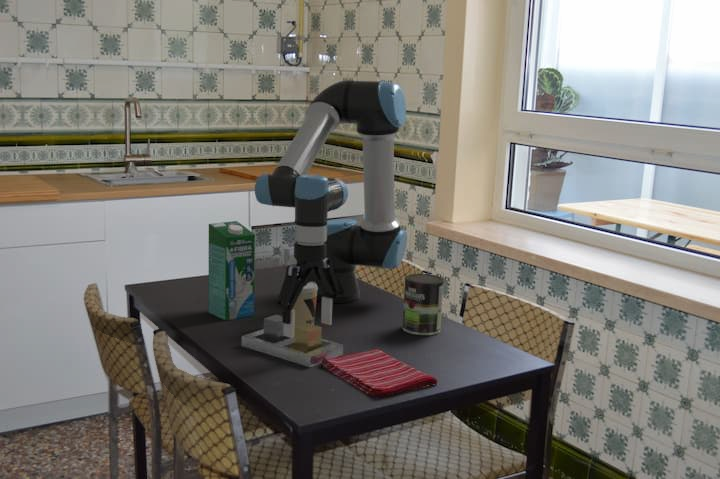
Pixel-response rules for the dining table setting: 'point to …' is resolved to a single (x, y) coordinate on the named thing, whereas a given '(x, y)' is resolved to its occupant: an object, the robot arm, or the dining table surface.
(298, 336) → the tan rectangular block
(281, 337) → the tall grey box
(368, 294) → the dining table surface
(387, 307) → the dining table surface
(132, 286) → the dining table surface
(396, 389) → the dish towel
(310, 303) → the coffee cup
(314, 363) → the grey tray
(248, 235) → the milk carton
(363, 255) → the robot arm
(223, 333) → the dining table surface
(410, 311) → the coffee can
